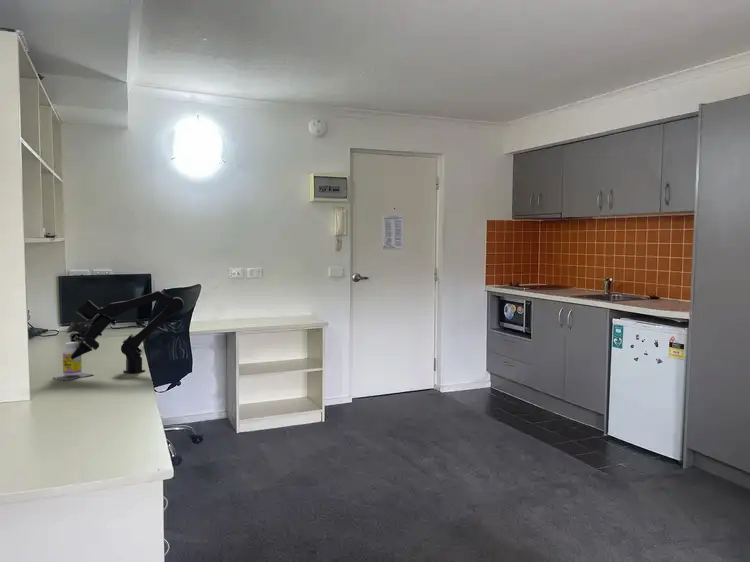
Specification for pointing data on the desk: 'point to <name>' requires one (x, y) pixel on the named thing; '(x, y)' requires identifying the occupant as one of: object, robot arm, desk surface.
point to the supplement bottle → (71, 360)
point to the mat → (72, 376)
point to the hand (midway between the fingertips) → (68, 357)
